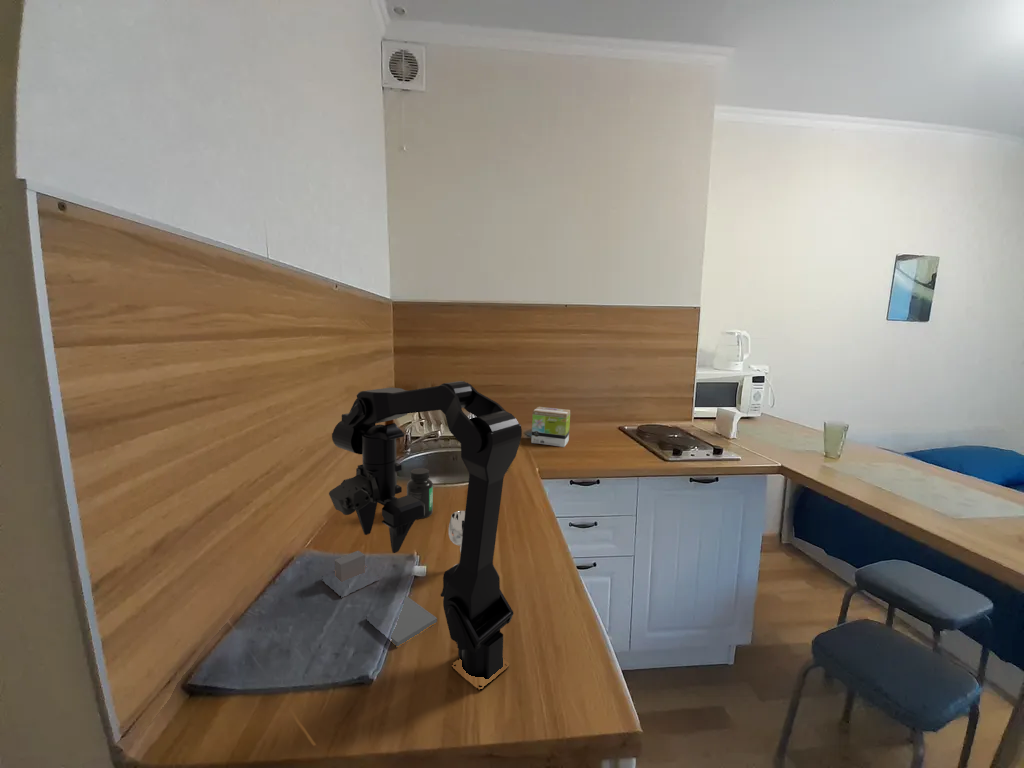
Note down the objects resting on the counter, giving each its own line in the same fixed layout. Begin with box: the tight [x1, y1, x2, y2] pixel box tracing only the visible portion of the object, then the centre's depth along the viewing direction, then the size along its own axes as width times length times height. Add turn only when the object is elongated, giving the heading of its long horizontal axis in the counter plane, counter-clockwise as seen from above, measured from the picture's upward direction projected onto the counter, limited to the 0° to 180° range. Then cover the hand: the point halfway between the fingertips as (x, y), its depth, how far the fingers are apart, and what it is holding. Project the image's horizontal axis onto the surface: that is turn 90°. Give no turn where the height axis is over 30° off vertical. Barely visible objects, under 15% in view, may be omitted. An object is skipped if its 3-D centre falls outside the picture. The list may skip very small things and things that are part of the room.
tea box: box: [530, 406, 571, 448], centre depth 191 cm, size 15×10×15 cm
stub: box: [334, 550, 366, 582], centre depth 87 cm, size 8×8×5 cm
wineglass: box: [448, 510, 465, 566], centre depth 92 cm, size 6×6×12 cm
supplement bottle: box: [406, 467, 434, 520], centre depth 118 cm, size 7×7×12 cm
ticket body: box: [391, 595, 438, 646], centre depth 76 cm, size 9×8×1 cm
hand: (380, 542), depth 80 cm, fingers open, 9 cm apart
